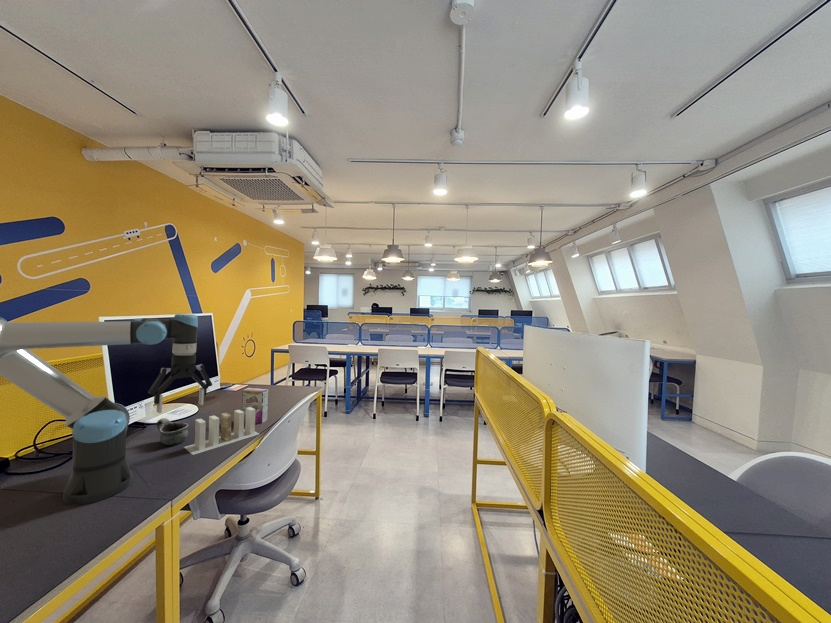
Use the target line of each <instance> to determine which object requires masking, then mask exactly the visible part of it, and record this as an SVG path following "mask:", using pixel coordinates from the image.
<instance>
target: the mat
mask: <svg viewBox="0 0 831 623" xmlns="http://www.w3.org/2000/svg"><path fill="white" fill-rule="evenodd" d="M258 435H260V433H259V432H257V431H255V433H254V434H249V433H247V432H245V428H244V435H243V437H241V438H238V437H236V436H235V435H234V432H231V441H228V442H225V441H223V440H222V439H221V435H219V444H218V445H215V446H213V445H211V444H210V443H209V442H208V439H207V440H206V439H205V449H202V450H199V449H197V448H196V447H195V443H193V444H190V445H186V446H183V448H184V449H186V451H187V452H189V453H190V454H191V455H192V456H194V455H196V454H197V455H198V454H201V453H203V452H207V451H210V450H214V449H216V448H219V447H223V446H226V445H230V444H233V443H235V442H239V441H243V440H244V439H245V440H246V439H248V438H251V437H255V436H258Z"/></svg>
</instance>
